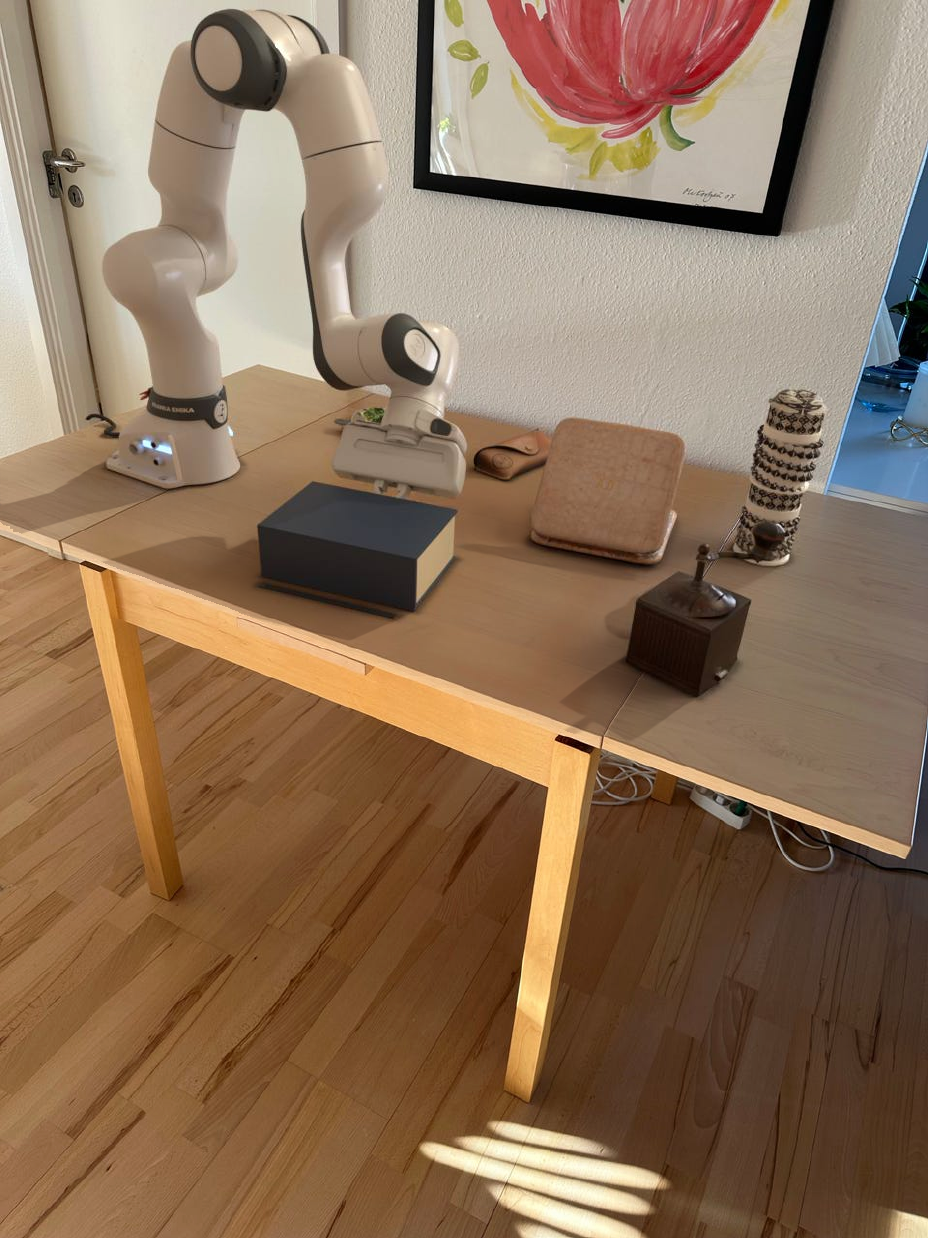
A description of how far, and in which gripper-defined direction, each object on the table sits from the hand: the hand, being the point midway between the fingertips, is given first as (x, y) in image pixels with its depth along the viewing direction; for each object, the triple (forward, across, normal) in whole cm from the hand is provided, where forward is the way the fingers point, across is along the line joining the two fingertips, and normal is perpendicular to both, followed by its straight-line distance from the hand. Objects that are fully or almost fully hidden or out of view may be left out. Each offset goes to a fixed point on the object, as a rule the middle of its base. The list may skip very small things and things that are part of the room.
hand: (384, 513), depth 133 cm
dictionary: (+9, 0, -3) cm, 10 cm away
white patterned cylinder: (-11, +54, +19) cm, 58 cm away
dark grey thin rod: (+16, 0, -10) cm, 19 cm away
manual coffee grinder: (+12, +48, -5) cm, 49 cm away
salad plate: (-27, -17, +35) cm, 47 cm away
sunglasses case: (-24, +10, +32) cm, 41 cm away
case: (-9, +30, +17) cm, 35 cm away
